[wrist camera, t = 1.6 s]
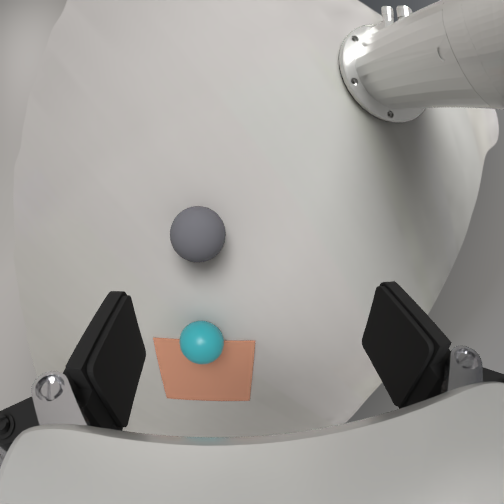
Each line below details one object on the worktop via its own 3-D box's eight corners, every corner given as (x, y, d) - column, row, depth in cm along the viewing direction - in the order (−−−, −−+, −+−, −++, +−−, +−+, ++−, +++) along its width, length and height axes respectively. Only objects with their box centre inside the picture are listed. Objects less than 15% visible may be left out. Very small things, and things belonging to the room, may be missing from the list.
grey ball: (174, 200, 28) (163, 214, 23) (226, 201, 28) (226, 215, 23) (176, 248, 30) (166, 271, 25) (225, 249, 31) (224, 272, 26)
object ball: (180, 311, 33) (174, 339, 28) (223, 312, 34) (224, 341, 29) (183, 343, 35) (179, 372, 30) (223, 344, 36) (224, 373, 31)
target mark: (153, 337, 35) (153, 338, 35) (255, 340, 36) (255, 341, 36) (167, 397, 40) (167, 398, 40) (249, 399, 42) (249, 400, 41)
